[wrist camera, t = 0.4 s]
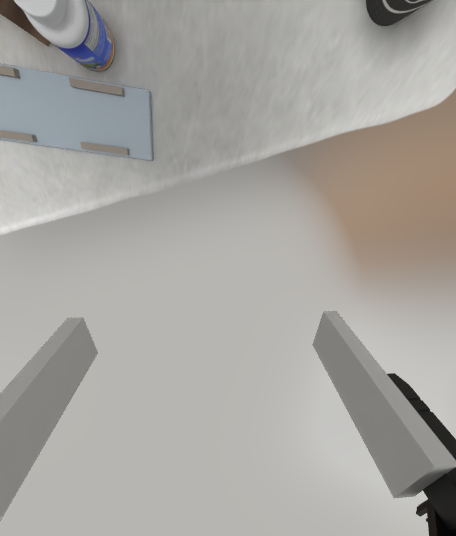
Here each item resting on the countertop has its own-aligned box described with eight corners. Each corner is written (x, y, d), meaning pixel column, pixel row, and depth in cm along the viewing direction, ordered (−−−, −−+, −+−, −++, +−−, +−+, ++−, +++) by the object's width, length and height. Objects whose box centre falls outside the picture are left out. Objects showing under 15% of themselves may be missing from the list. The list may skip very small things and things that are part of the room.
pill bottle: (65, 58, 25) (-12, 6, 16) (67, -3, 22) (-21, -102, 14) (112, 81, 26) (64, 44, 18) (119, 25, 24) (67, -49, 15)
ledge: (-61, 54, 24) (-81, 47, 22) (150, 92, 27) (146, 88, 25) (-30, 134, 28) (-44, 133, 26) (153, 160, 30) (149, 160, 29)
